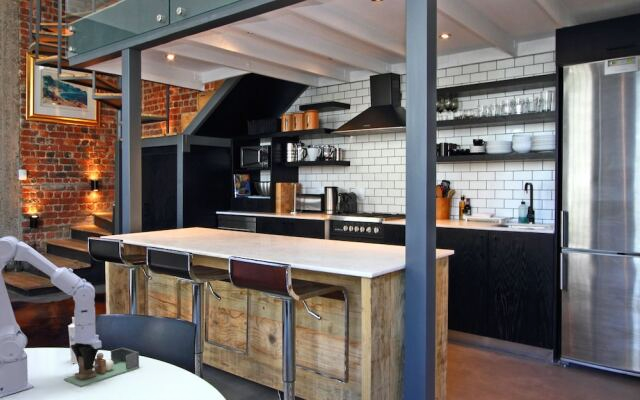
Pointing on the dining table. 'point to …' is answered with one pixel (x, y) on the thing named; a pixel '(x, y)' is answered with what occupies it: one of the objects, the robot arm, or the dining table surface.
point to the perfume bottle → (72, 331)
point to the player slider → (99, 367)
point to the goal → (125, 357)
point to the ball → (109, 364)
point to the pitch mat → (100, 375)
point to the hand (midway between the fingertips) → (85, 368)
